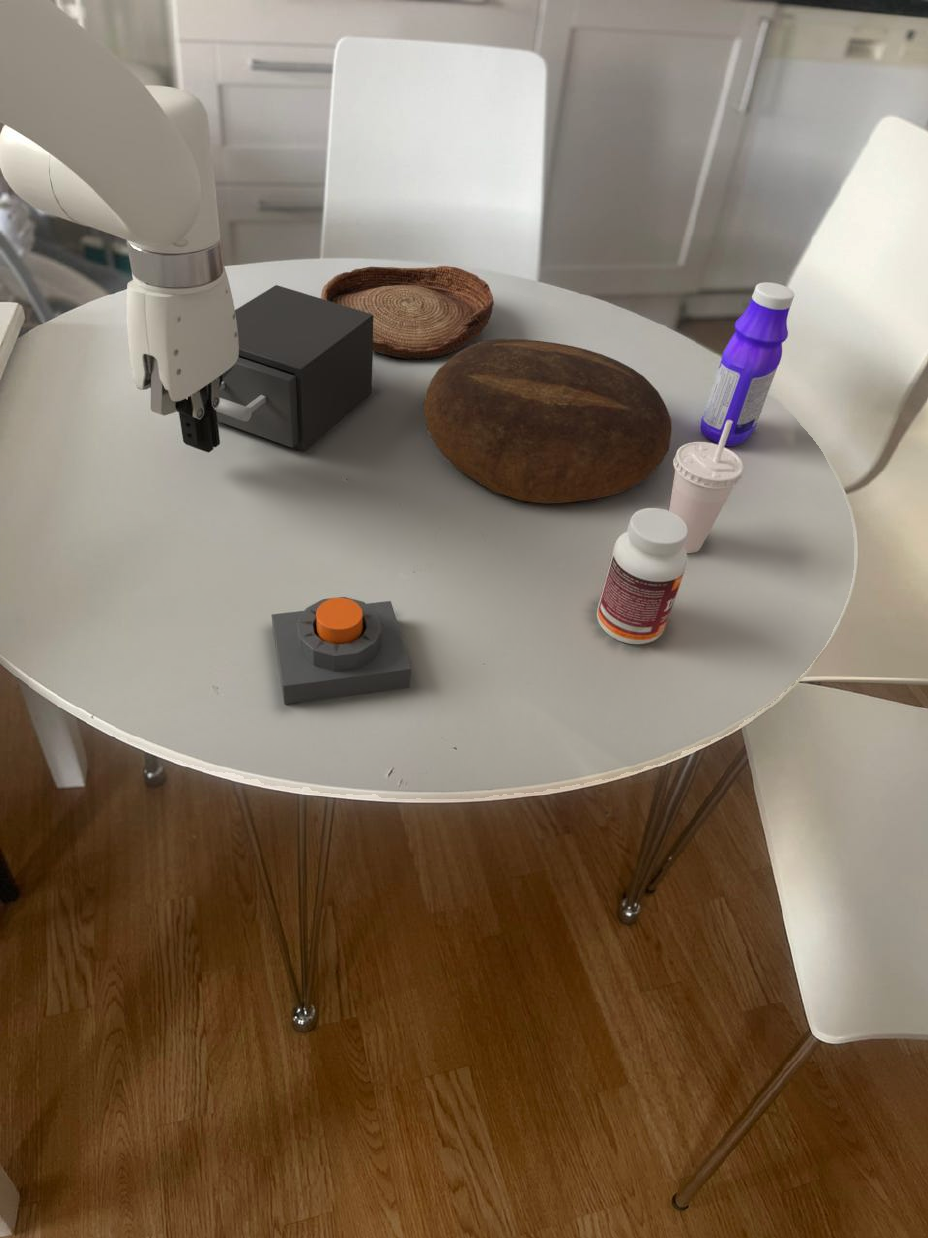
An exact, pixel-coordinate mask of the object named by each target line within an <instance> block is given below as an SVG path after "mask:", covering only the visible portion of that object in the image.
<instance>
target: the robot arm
mask: <svg viewBox="0 0 928 1238" xmlns="http://www.w3.org/2000/svg"><path fill="white" fill-rule="evenodd" d="M0 123H1V124H3V126H2V129H1V131H0V172H1V174H2V176H3V179H4V180H5V181H6V183H7V185H8V186H9V188H10V189H11V190H12V191H13V193H15V194H16V195H17V196H18V197H19V198H20V199H21V200H23V202H26V204H28V205H29V206H31V207H33V208H35V209H36V210H39V211H41V212H44V213H46V214H48V215H51V216H53V217H57V218H60V219H62V220H66V221H69V222H71V223H74V224H77V225H80V226H83V227H89V228H92V229H94V230H98V231H101V232H104V233H106V234H109V235H112V236H115V237H118V238H120V239H123V240H125V243H126V248H127V254H128V260H129V264H130V271H131V276H132V279H131V280H130V281H128V282H127V286H126V302H125V303H126V304H125V305H126V307H125V308H126V310H125V311H126V313H125V314H126V315H125V316H126V332H127V333H126V334H127V341H128V343H127V344H128V351H129V358H130V360H129V361H130V367H131V372H132V377H133V382H134V385H135V387H136V389H138V390H141V391H145V390H148V389H150V410H151V412H154V413H155V414H158V415H162V416H168V415H170V414H173V413H176V412H177V413H178V417H179V423H180V429H181V430H180V431H181V435H182V436H181V437H182V441H183V444H185V445H186V446H189V447H192V448H195V449H197V450H200V451H202V452H205V453H210V452H212V451H213V450H214V448H217V447H218V446H220V444H221V440H220V431H219V421H217V413H216V410H214V408H217V407H218V405H219V403H220V386H221V384H222V381H223V379H224V378H225V376H226V375H227V374H228V373H229V372H230V371H231V370H232V368H233V365H234V364H235V363H236V362H237V360H238V356H239V340H238V329H237V321H236V315H235V310H236V309H235V304H234V297H233V293H232V288H231V285H230V281H229V277H228V274H227V270H226V267H225V265H224V259H223V248H222V240H221V231H220V221H219V220H220V219H219V210H218V200H217V199H218V198H217V190H216V180H215V168H214V159H213V158H214V157H213V149H212V141H211V139H212V138H211V130H210V123H209V117H208V113H207V110H206V108H205V106H204V104H203V103H202V101H201V99H199V98H198V97H197V96H195V95H194V94H193V93H191V92H189V91H187V90H184V89H180V88H177V87H173V86H166V85H155V84H153V85H151V84H149V85H148V84H147V85H144V83H143V82H142V81H141V79H139V78H138V77H137V75H135V73H133V71H132V70H131V69H130V68H129V67H128V66H127V65H126V64H125V63H124V62H123V61H122V60H121V59H120V58H119V57H118V56H117V55H116V54H114V52H112V50H110V49H109V48H108V47H107V46H106V45H104V44H103V43H102V42H101V41H100V40H99V39H98V38H96V37H95V35H93V34H92V33H90V32H89V31H88V30H86V28H84V27H83V26H82V25H80V23H78V22H77V21H76V20H74V19H73V18H72V17H71V16H70V15H68V14H67V13H66V12H65V11H63V10H62V8H60V7H59V6H57V5H56V4H55V2H53V1H52V0H0Z"/></svg>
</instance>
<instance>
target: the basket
mask: <svg viewBox="0 0 928 1238" xmlns="http://www.w3.org/2000/svg"><path fill="white" fill-rule="evenodd" d="M320 295H321V296H320V298H321V299H324V300H327V301H330V302H334V303H337V304H340V305H344V306H347V307H350V308H353V309H357V310H360V311H363V312H366V313H370V314H373V352H376V353H379V354H383V355H387V356H392V357H396V358H402V359H410V360H411V359H422V360H427V359H433V358H438V357H441V356H445V355H448V354H450V353H453V352H455V351H457V350H459V349H460V348H462V347H463V346H465V345H466V344H468V343H469V342H471V341H472V340H473V339H475V338H476V337H478V336H479V335H480V334H481V333H482V332H483V331H484V329H485V328H486V327H487V325H488V324H489V322H490V319H491V317H492V314H493V309H494V305H495V304H494V303H495V302H494V301H495V300H494V296H493V293H492V291H491V288H490V286H489V284H488V283H487V282H486V281H485V280H483V279H481V278H480V277H479V276H478V275H476V274H474V273H473V272H470V271H467V270H465V269H462V268H459V267H456V266H449V265H438V266H436V267H430V266H429V267H395V266H393V267H392V266H385V267H384V266H367V267H361V268H355V269H353V270H351V271H345V272H341V273H338V274H337V275H335V276H334V277H333V278H331V279H330V280H328V281H327V282H326V284H325V285H323V287H322V290H321V294H320Z"/></svg>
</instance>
